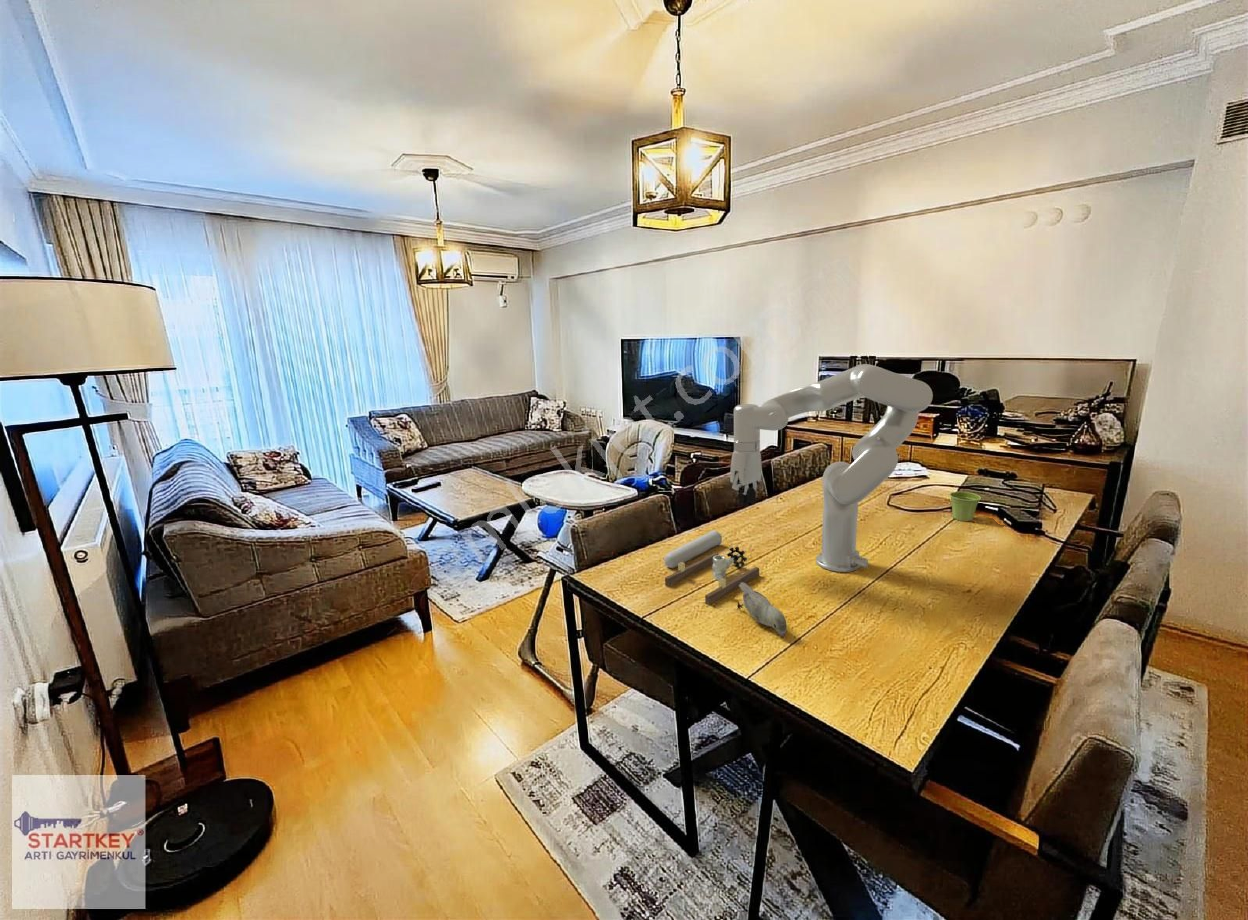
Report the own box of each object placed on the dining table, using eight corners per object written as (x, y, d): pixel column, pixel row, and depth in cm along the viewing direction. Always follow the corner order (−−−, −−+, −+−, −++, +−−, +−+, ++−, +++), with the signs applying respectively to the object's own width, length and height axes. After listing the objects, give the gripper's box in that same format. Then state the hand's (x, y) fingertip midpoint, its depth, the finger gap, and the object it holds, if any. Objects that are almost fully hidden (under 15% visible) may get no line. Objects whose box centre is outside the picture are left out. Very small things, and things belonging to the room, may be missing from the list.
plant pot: (978, 516, 186) (980, 493, 184) (978, 525, 178) (981, 501, 176) (947, 512, 191) (949, 490, 189) (947, 521, 183) (949, 498, 181)
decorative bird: (774, 641, 121) (775, 613, 119) (733, 610, 135) (732, 584, 133) (792, 634, 123) (793, 606, 121) (749, 605, 137) (749, 579, 135)
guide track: (759, 575, 152) (759, 560, 151) (708, 605, 138) (708, 588, 137) (715, 559, 164) (715, 545, 163) (665, 585, 150) (664, 570, 149)
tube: (674, 560, 157) (723, 535, 173) (662, 551, 160) (711, 527, 176) (671, 574, 159) (720, 547, 176) (659, 564, 163) (708, 539, 179)
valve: (724, 583, 149) (747, 569, 157) (724, 563, 147) (747, 549, 156) (706, 577, 154) (728, 563, 162) (705, 557, 152) (728, 543, 160)
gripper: (752, 439, 161) (752, 495, 165) (719, 449, 150) (720, 508, 155) (773, 442, 155) (772, 500, 160) (740, 453, 145) (740, 514, 149)
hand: (747, 503), depth 157 cm, fingers open, 3 cm apart
